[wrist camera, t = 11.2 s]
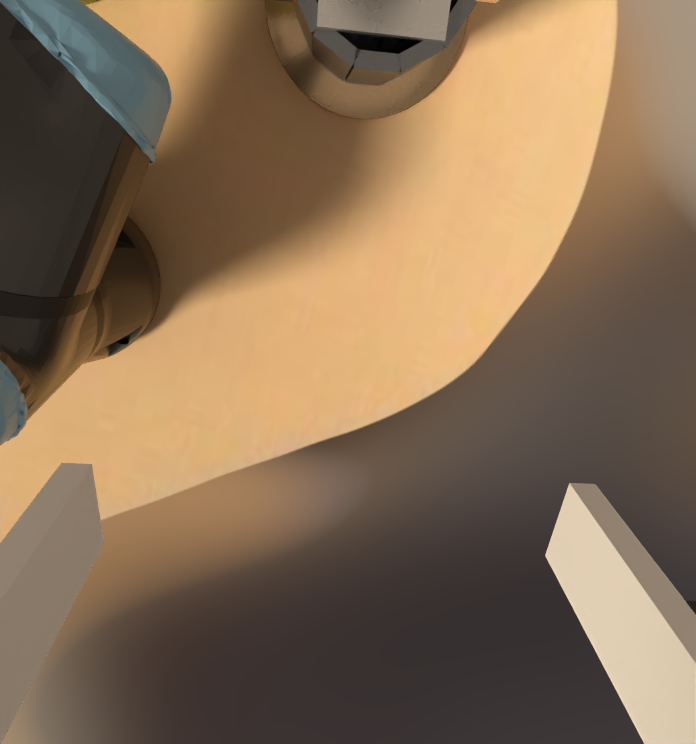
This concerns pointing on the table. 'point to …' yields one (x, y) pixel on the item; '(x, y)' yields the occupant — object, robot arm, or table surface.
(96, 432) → the table surface
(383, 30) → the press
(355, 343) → the table surface
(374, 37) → the plunger
